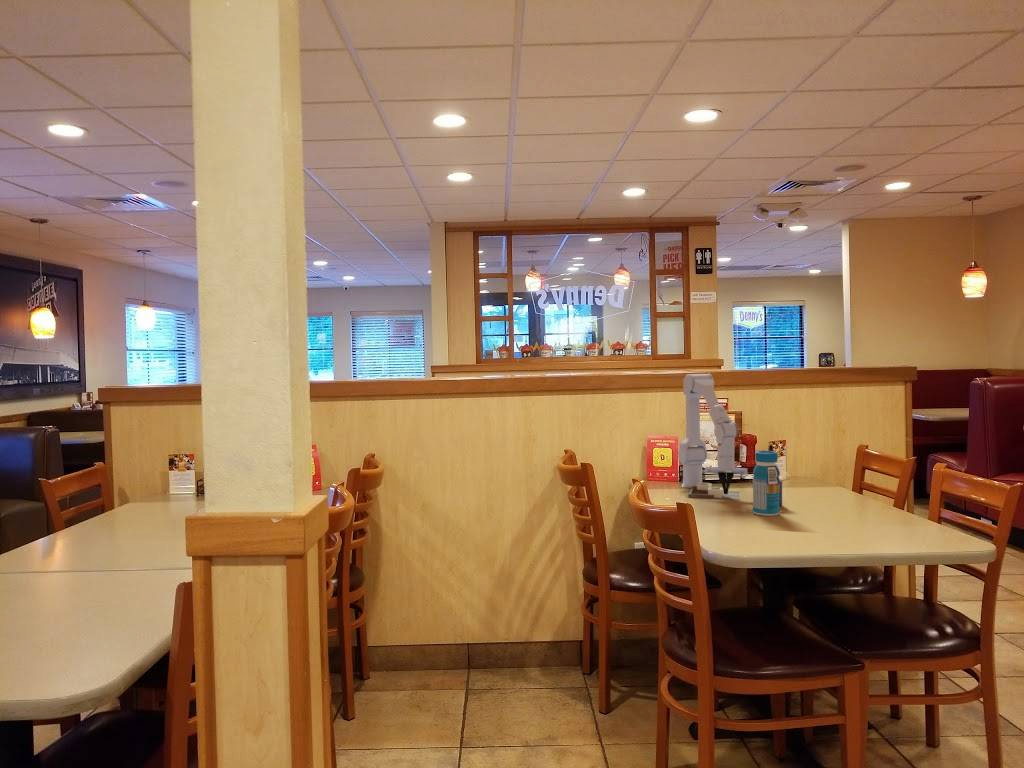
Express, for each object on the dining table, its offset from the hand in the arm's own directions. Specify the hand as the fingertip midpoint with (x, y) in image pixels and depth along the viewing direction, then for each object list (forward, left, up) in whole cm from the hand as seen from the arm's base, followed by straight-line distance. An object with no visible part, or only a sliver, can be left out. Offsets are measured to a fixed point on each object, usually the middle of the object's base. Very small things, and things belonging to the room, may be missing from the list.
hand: (725, 493), depth 272 cm
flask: (+13, +14, -2) cm, 19 cm away
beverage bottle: (+25, +13, -2) cm, 28 cm away
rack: (-3, -5, -1) cm, 6 cm away
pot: (0, -4, -1) cm, 4 cm away
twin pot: (-8, -8, -1) cm, 11 cm away
